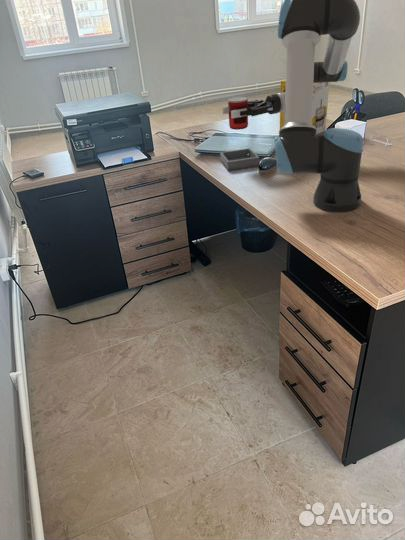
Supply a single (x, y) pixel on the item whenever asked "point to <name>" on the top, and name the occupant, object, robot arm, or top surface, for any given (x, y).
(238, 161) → the charcoal bin
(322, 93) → the packaging box
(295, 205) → the top surface
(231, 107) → the canned food
